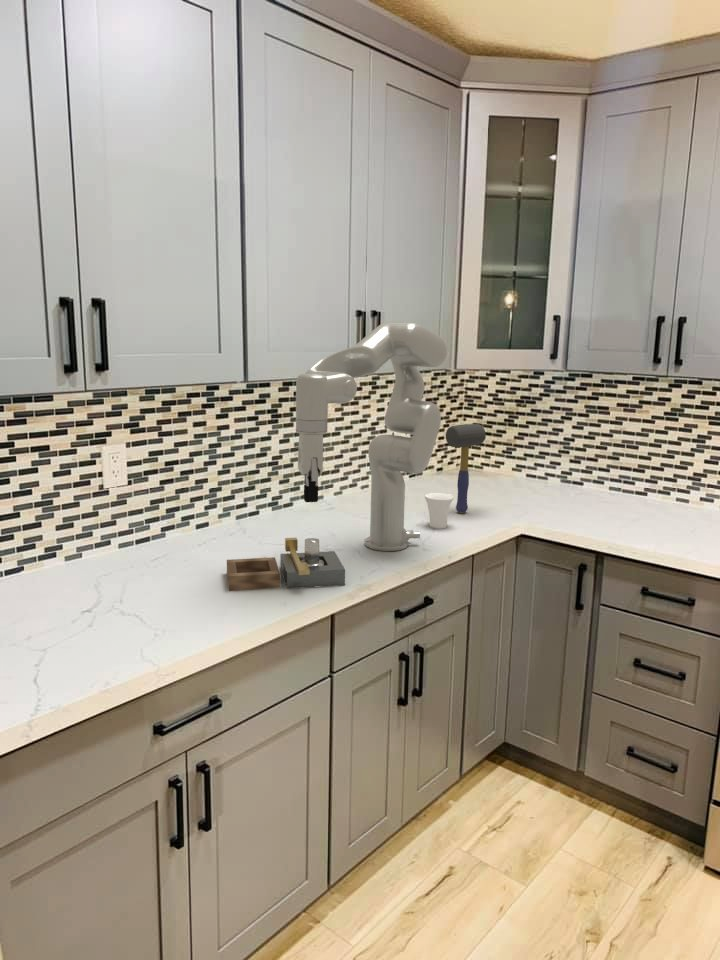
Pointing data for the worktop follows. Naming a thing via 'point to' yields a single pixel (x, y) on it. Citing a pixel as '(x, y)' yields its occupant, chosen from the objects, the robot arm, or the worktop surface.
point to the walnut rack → (253, 573)
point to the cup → (438, 509)
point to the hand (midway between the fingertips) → (310, 501)
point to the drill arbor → (312, 552)
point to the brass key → (296, 556)
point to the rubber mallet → (464, 455)
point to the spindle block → (313, 571)
